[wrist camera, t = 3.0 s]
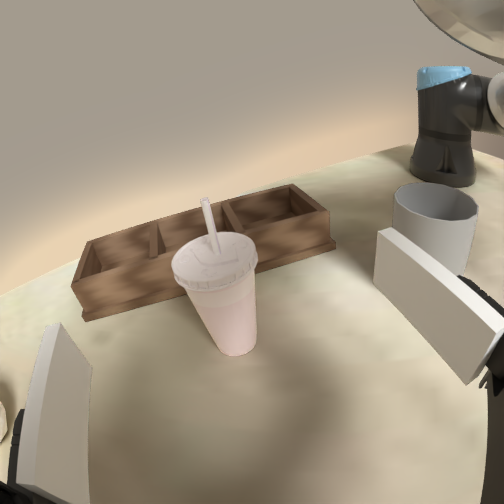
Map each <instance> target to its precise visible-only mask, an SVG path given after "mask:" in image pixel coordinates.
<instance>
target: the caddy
mask: <svg viewBox="0 0 504 504" xmlns="http://www.w3.org/2000/svg"><path fill="white" fill-rule="evenodd" d="M210 207H211V211H212V215H213V219H214V224H215V228H216V232H235V233H240V234H243V235H245V236H247V237H249V238H250V239H251V240H252V241H253V242H254V244H255V247H256V252H257V255H258V262H257V264H256V267H255V269H254V273H255V274H256V273H259V272H263V271H266V270H269V269H273V268H276V267H279V266H282V265H286V264H289V263H292V262H295V261H299V260H302V259H305V258H308V257H311V256H315V255H318V254H321V253H324V252H327V251H331V250H334V249H336V242H335V241H334V240H333V239H332V238H331V237H330V217H329V211H327V210H326V209H325V208H324V207H322V206H321V205H320V204H319V203H317V202H316V201H315V200H313V199H312V198H311V197H310V196H308V195H307V194H306V193H304V192H303V191H302V190H301V189H299V188H298V187H297V186H295V185H294V184H289V185H284V186H280V187H276V188H272V189H268V190H264V191H260V192H256V193H252V194H248V195H244V196H240V197H236V198H232V199H228V200H225V201H221V202H217V203H213V204H210ZM208 234H209V233H208V229H207V225H206V221H205V217H204V213H203V209H202V207H199V208H195V209H192V210H188V211H185V212H181V213H178V214H174V215H171V216H167V217H164V218H160V219H157V220H154V221H150V222H147V223H144V224H141V225H137V226H134V227H131V228H128V229H125V230H121V231H118V232H115V233H112V234H109V235H106V236H103V237H100V238H97V239H94V240H91V241H88V242H87V243H86V246H85V248H84V251H83V253H82V256H81V259H80V261H79V264H78V267H77V270H76V272H75V275H74V278H73V281H72V284H71V288H72V290H73V292H74V293H75V295H76V297H77V299H78V300H79V302H80V304H81V306H82V307H83V312H82V317H83V319H84V321H85V322H87V321H91V320H95V319H99V318H102V317H106V316H110V315H113V314H117V313H121V312H124V311H128V310H132V309H135V308H139V307H142V306H146V305H150V304H153V303H157V302H160V301H164V300H167V299H171V298H174V297H178V296H181V295H185V294H187V292H186V290H185V288H184V287H182V286H180V285H179V284H178V283H177V281H176V280H175V278H174V272H173V270H172V266H171V264H172V259H173V257H174V255H175V254H176V253H177V251H178V250H179V249H180V248H181V247H183V246H184V245H185V244H187V243H188V242H190V241H192V240H194V239H196V238H198V237H201V236H204V235H208Z"/></svg>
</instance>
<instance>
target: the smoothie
mask: <svg viewBox="0 0 504 504" xmlns="http://www.w3.org/2000/svg"><path fill="white" fill-rule="evenodd" d="M200 201H201V205H202V209H203V213H204V217H205V221H206V225H207V229H208V233H209V234H208V235H204V236H201V237H198V238H196V239H194V240H192V241H190V242H188V243H187V244H185V245H184V246H183V247H181V248H180V249H179V250H178V251H177V253H176V254H175V255H174V257H173V259H172V264H171V266H172V270H173V272H174V278H175V280H176V281H177V283H178V284H179V285H180V286H182V287H184V288H185V290H186V292H187V294H188V296H189V298H190V299H191V301H192V303H193V305H194V307H195V308H196V310H197V312H198V314H199V316H200V317H201V319H202V321H203V323H204V324H205V326H206V328H207V330H208V331H209V333H210V335H211V336H212V338H213V340H214V342H215V343H216V345H217V347H218V348H219V350H220V351H221V352H222V353H223V354H225V355H228V356H241V355H244V354H246V353H248V352H249V351H251V350H252V349H253V348H254V346H255V345H256V342H257V329H256V301H255V273H254V269H255V267H256V264H257V262H258V255H257V252H256V247H255V244H254V242H253V241H252V240H251V239H250V238H249V237H247V236H245V235H243V234H240V233H235V232H216V228H215V224H214V219H213V215H212V211H211V207H210V202H209V199H208V198H207V197H206V198H202V199H201V200H200Z"/></svg>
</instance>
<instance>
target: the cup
mask: <svg viewBox="0 0 504 504" xmlns="http://www.w3.org/2000/svg"><path fill="white" fill-rule="evenodd" d="M478 208H479V206H478V205H477V203H476V202H475V201H474V200H473V198H472V197H470V196H469V195H467V194H465V193H464V192H462V191H460V190H458V189H455V188H452V187H449V186H446V185H442V184H435V183H427V182H425V183H410V184H407V185H404V186H401V187H399V188H398V190H397V191H396V192H395V193H394V206H393V221H392V228H393V229H395V230H396V231H398V232H399V233H400V234H402V235H403V236H405V237H406V238H407V239H409V240H410V241H411V242H413V243H414V244H415V245H417V246H418V247H419V248H421V249H422V250H423V251H425V252H426V253H427V254H429V255H430V256H431V257H433V258H434V259H435V260H436V261H438V262H439V263H440V264H441V265H443V266H444V267H445V268H447V269H448V270H449V271H450V272H451V273H453V274H454V275H455V276H458V275H461V276H463V275H464V271H465V268H466V264H467V260H468V257H469V253H470V249H471V244H472V240H473V236H474V231H475V227H476V222H477V217H478Z"/></svg>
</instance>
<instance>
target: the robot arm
mask: <svg viewBox="0 0 504 504" xmlns="http://www.w3.org/2000/svg"><path fill="white" fill-rule="evenodd" d="M413 1H414V2H415V3H416V5H417V6H418V8H419V9H420V11H422V13H423V14H424V15H425V16H426V17H427V18H428V19H429V21H430V22H432V23H433V24H434V25H435V26H436V27H438V29H440V30H441V31H442V32H444V33H445V34H446V35H447V36H449V37H450V38H451V39H453V40H455V41H456V42H458V43H460V44H462V45H463V46H465V47H467V48H469V49H471V50H472V51H474V52H476V53H478V54H480V55H482V56H484V57H486V58H489V59H491V60H493V61H495V62H497V63H499V64H502V65H504V0H413ZM471 73H472V72H471V70H470V68H469V67H460V66H434V67H422V68H420V69H419V70H418V72H417V88H416V90H418V118H419V134H418V139H417V142H416V145H415V148H414V152H413V155H412V156H411V159H410V171H411V173H412V174H414V175H415V176H417V177H418V178H420V179H423V180H425V181H428V182H431V183H435V184H442V185H446V186H451V187H465V186H470V185H472V184H474V182H475V178H476V168H475V163H474V157H473V152H472V148H471V131H472V130H473V131H480V132H484V133H489V134H494V135H499V136H503V137H504V72H503V73H499V74H497V75H496V76H494V77H493V78H488V77H483V76H478V75H472V74H471ZM373 284H374V285H375V286H376V287H377V288H378V289H379V290H380V291H381V292H382V293H383V294H384V295H385V297H386V298H387V299H388V300H389V301H390V302H391V303H392V304H393V305H394V306H395V307H396V308H397V309H398V310H399V311H400V312H401V313H402V314H403V315H404V316H405V318H406V319H407V320H408V321H409V322H410V323H411V324H412V325H413V326H414V327H415V328H416V329H417V331H418V332H419V333H420V334H421V335H422V336H423V337H424V338H425V339H426V340H427V342H428V343H429V344H430V345H431V346H432V347H433V348H434V349H435V350H436V352H437V353H438V354H439V355H440V356H441V357H442V358H443V360H444V361H445V362H446V363H447V364H448V365H449V367H450V368H451V369H452V370H453V371H454V372H455V373H456V375H457V376H458V377H459V378H460V379H461V381H462V382H463V383H464V384H465V385H468V384H469V383H470V382H471V381H473V380H474V379H475V378H476V377H478V376H479V374H480V373H481V371H482V370H483V368H484V366H485V365H486V366H487V367H488V371H487V372H486V374H485V376H484V377H483V379H482V380H481V382H480V383H479V388H482V386H483V385H484V383H485V382H486V381H487V384H486V386H485V389H487V395H488V436H487V454H486V466H485V475H484V483H483V490H482V497H481V503H480V504H504V308H503V307H502V306H500V305H499V304H498V303H497V302H496V301H495V300H494V299H492V298H491V297H490V296H488V295H487V293H485V292H484V291H483V290H480V287H478V286H477V285H476V284H475V283H474V282H472V281H471V280H469V279H467V278H465V277H463V276H461V275H458V276H455V275H454V274H453V273H451V272H450V271H449V270H448V269H447V268H445V267H444V266H443V265H441V264H440V263H439V262H438V261H436V260H435V259H434V258H433V257H431V256H430V255H429V254H427V253H426V252H425V251H423V250H422V249H421V248H419V247H418V246H417V245H415V244H414V243H413V242H411V241H410V240H409V239H407V238H406V237H405V236H403V235H402V234H400V233H399V232H398V231H396V230H395V229H393V228H392V227H390V228H386V229H383V230H380V231H377V245H376V258H375V268H374V278H373ZM91 377H92V366H91V365H90V364H89V362H88V361H87V360H86V358H85V357H84V355H83V354H82V353H81V351H80V350H79V349H78V347H77V346H76V344H75V343H74V341H73V340H72V339H71V337H70V336H69V334H68V333H67V331H66V330H65V328H64V327H63V325H62V324H61V322H60V323H56V324H52V325H48V326H46V328H45V331H44V334H43V337H42V341H41V344H40V348H39V351H38V355H37V358H36V362H35V366H34V370H33V374H32V378H31V382H30V387H29V391H28V396H27V401H26V406H25V409H20V411H19V413H18V415H17V418H16V420H15V422H14V428H13V436H12V441H11V444H12V447H11V449H10V457H9V467H8V480H7V485H6V484H5V483H3V482H1V481H0V504H90V495H89V476H88V423H89V403H90V389H91Z"/></svg>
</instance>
